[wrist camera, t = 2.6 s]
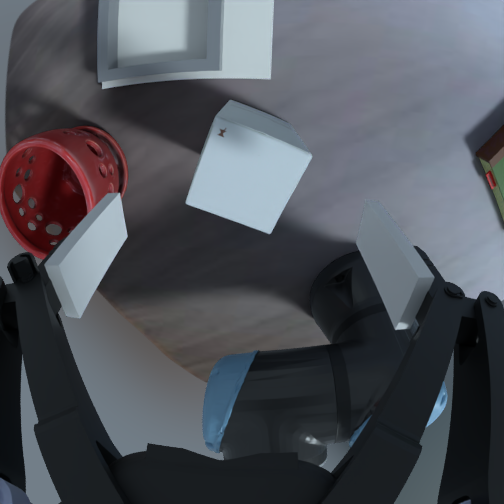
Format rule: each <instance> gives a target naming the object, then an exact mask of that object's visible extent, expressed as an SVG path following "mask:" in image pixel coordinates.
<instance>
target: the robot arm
mask: <svg viewBox="0 0 504 504" xmlns="http://www.w3.org/2000/svg"><path fill="white" fill-rule="evenodd" d="M127 237H128V236H127V230H126V225H125V220H124V214H123V209H122V203H121V196H120V193H107V194H106V196H105V197H104V198H103V199H102V200H101V201H100V202H99V203H98V204H97V205H96V206H95V207H94V208H93V209H92V210H91V211H90V212H89V213H88V214H87V215H86V217H85V218H84V219H83V220H82V221H81V222H80V223H79V224H78V225H77V226H76V228H75V229H74V230H73V231H72V232H71V233H70V234H69V235H68V236H66V237H65V238H63V239H62V240H60V241H59V242H58V243H57V244H56V245H55V246H54V248H53V250H51V251H50V252H49V255H47V256H46V257H45V258H44V260H43V261H42V262H41V263H40V264H39V266H37V263H36V261H35V258H34V256H33V254H32V253H30V252H26V253H22V254H19V255H17V256H15V257H14V258H13V259H11V260H10V262H9V263H8V266H7V268H8V271H9V273H10V275H11V277H12V280H13V282H14V283H12V284H6V285H5V283H4V281H3V279H2V278H1V277H0V504H32V503H31V502H30V501H29V498H28V497H27V495H26V483H25V482H26V480H25V479H26V478H25V466H24V457H23V447H22V434H21V407H20V392H21V364H22V354H23V360H24V365H25V370H26V374H27V379H28V383H29V388H30V392H31V396H32V399H33V403H34V407H35V410H36V414H37V417H38V421H39V422H38V424H35V425H34V432H35V435H36V438H37V442H38V445H39V448H40V451H41V453H42V456H43V459H44V461H45V464H46V467H47V469H48V472H49V474H50V477H51V479H52V481H53V484H54V486H55V488H56V490H57V493H58V495H59V497H60V499H61V501H62V502H60V503H59V504H394V502H395V500H396V499H397V497H398V495H399V494H400V492H401V490H402V488H403V487H404V485H405V483H406V481H407V479H408V477H409V476H410V473H411V472H412V470H413V468H414V466H415V464H416V462H417V460H418V458H419V455H420V453H421V450H422V446H421V445H420V444H419V442H420V439H421V437H422V435H423V432H424V430H425V428H426V427H427V426H429V425H430V424H431V423H432V422H433V421H434V420H435V419H436V418H437V417H438V416H439V415H440V414H441V412H442V411H443V409H444V408H445V405H446V402H447V391H446V387H445V384H444V378H445V375H446V372H447V369H448V366H449V363H450V359H451V356H452V352H453V349H454V377H453V399H452V411H451V422H450V431H449V439H448V447H447V453H446V459H445V464H444V470H443V475H442V480H441V485H440V490H439V495H438V503H437V504H504V308H503V305H502V303H501V301H500V299H499V298H498V297H497V296H496V295H495V294H493V293H490V292H487V291H483V292H481V293H480V294H479V296H478V298H477V300H476V299H472V298H467V297H465V294H464V292H463V290H462V289H461V288H460V287H458V286H457V285H455V284H453V283H450V282H445V280H444V279H443V277H442V276H441V274H440V273H439V272H438V270H437V269H436V267H435V266H434V264H433V263H432V262H431V261H430V259H429V257H428V256H427V255H426V253H425V252H424V251H422V250H421V249H420V248H419V247H417V246H413V245H412V244H411V243H410V241H409V240H408V238H407V237H406V236H405V234H404V233H403V232H402V230H401V229H400V228H399V226H398V225H397V224H396V222H395V221H394V220H393V219H392V217H391V216H390V215H389V213H388V212H387V211H386V210H385V208H384V207H383V206H382V205H381V203H380V202H379V201H375V200H365V205H364V210H363V214H362V219H361V224H360V228H359V232H358V237H357V241H356V245H357V247H358V249H359V251H358V252H354V253H351V254H348V255H345V256H343V257H341V258H339V259H337V260H336V261H334V262H333V263H331V264H330V265H329V266H327V267H326V268H325V269H324V270H323V271H322V272H321V273H320V274H319V276H318V277H317V279H316V280H315V282H314V284H313V286H312V289H311V292H310V305H311V310H312V314H313V317H314V320H315V322H316V323H317V325H318V326H319V327H320V329H321V330H322V332H323V333H324V334H325V336H326V337H327V339H328V340H329V341H330V343H331V344H329V345H319V346H311V347H302V348H293V349H283V350H272V351H257V350H256V351H253V352H251V353H242V354H233V355H227V356H224V357H223V358H221V359H220V360H219V361H218V362H217V363H216V364H215V366H214V367H213V369H212V371H211V374H210V377H209V380H208V383H207V387H206V392H205V398H204V406H203V437H204V440H205V441H206V442H205V444H206V446H207V448H208V449H209V450H211V451H214V452H216V453H220V452H223V456H224V460H216V459H213V458H210V457H207V456H204V455H201V454H197V453H195V452H192V451H189V450H186V449H183V448H176V447H169V446H162V445H155V444H149V443H148V445H147V451H144V452H137V453H133V454H129V455H126V456H124V457H122V455H121V454H120V453H119V451H118V450H117V449H116V447H115V446H114V444H113V443H112V441H111V439H110V438H109V436H108V434H107V432H106V430H105V428H104V426H103V424H102V422H101V420H100V418H99V416H98V414H97V412H96V409H95V407H94V406H93V403H92V401H91V399H90V396H89V394H88V392H87V390H86V387H85V385H84V382H83V380H82V377H81V375H80V373H79V370H78V367H77V365H76V362H75V360H74V357H73V354H72V351H71V349H70V346H69V343H68V340H67V337H66V334H65V331H64V328H63V325H62V321H61V318H60V316H59V314H58V312H59V310H60V308H61V307H62V308H63V310H64V312H65V315H66V316H67V317H73V318H81V316H82V314H83V312H84V310H85V308H86V307H87V305H88V303H89V301H90V299H91V297H92V295H93V294H94V292H95V290H96V288H97V287H98V285H99V283H100V281H101V280H102V278H103V276H104V275H105V273H106V271H107V269H108V268H109V266H110V264H111V263H112V261H113V259H114V258H115V256H116V254H117V253H118V251H119V250H120V248H121V246H122V245H123V243H124V242H125V240H126V238H127ZM345 441H349V446H350V450H349V451H348V453H347V454H346V455H345V456H344V458H343V459H342V460H341V461H340V463H339V464H338V465H337V466H336V468H335V469H334V470H333V471H332V472H331V473H330V472H329V471H327V470H325V469H324V468H322V467H321V466H322V465H324V464H325V462H326V460H327V445H328V444H334V443H339V442H345Z"/></svg>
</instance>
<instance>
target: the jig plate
mask: <svg viewBox="0 0 504 504" xmlns="http://www.w3.org/2000/svg"><path fill="white" fill-rule="evenodd" d="M273 7H274V0H99V9H98V32H97V71H98V83H99V82H102V89H106V88H112V87H118V86H125V85H132V84H140V83H149V82H159V81H170V80H185V79H208V78H250V79H271V57H272V33H273Z"/></svg>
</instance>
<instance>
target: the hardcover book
mask: <svg viewBox="0 0 504 504" xmlns="http://www.w3.org/2000/svg"><path fill="white" fill-rule="evenodd" d="M475 154H476V156H477V157H479V159H480V161H481V164H482V166H483V168H484V171H485V173H486V174H485V175H486V177H487V180H488V182H489V185H490V187H491V189H492V190H493V193H494V196H495V198H496V201H497V204H498V207H499V209H500V212H501V215H502V218H503V221H504V125H503V126H502V127H501V128H500V129H499V130H498V131H497V132H496V133H495V134H494V135H493V136H492V137H491V138H490V139H489V140H488V141H487V142H486V143H485V144H484V145H483V146H482V147H481V148H480V149H479V150H478V151H477V152H476V153H475Z"/></svg>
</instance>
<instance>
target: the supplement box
mask: <svg viewBox="0 0 504 504" xmlns="http://www.w3.org/2000/svg"><path fill="white" fill-rule="evenodd" d="M311 159H312V154H311V153H310V151H309V150H308V148H307V147H306V145H305V144H304V143H303V141H302V140H301V138H300V137H299V136H298V134H297V133H296V131H295V130H294V128H293V127H292V126H291V124H290V123H288V122H286V121H283V120H281V119H279V118H277V117H274V116H272V115H270V114H267V113H265V112H262V111H260V110H257V109H255V108H252V107H250V106H247V105H244V104H242V103H239V102H236V101H233V100H229V101H228V102H227V103H226V105H225V106H224V107H223V108H222V109H221V110H220V111H219V113H218V114H217V115H216V116H215V118H214V121H213V123H212V126H211V128H210V131H209V133H208V136H207V139H206V141H205V144H204V147H203V149H202V152H201V155H200V158H199V161H198V164H197V167H196V170H195V173H194V176H193V179H192V183H191V186H190V189H189V192H188V196H187V199H186V204H187V205H190V206H193V207H196V208H199V209H201V210H204V211H207V212H210V213H213V214H215V215H218V216H221V217H224V218H227V219H229V220H232V221H235V222H238V223H240V224H243V225H246V226H249V227H251V228H254V229H257V230H260V231H262V232H265V233H268V234H271V232H272V230H273V228H274V226H275V224H276V222H277V221H278V219H279V217H280V215H281V213H282V211H283V209H284V207H285V206H286V204H287V202H288V200H289V198H290V197H291V195H292V193H293V191H294V189H295V187H296V186H297V184H298V182H299V180H300V178H301V177H302V175H303V173H304V171H305V169H306V168H307V166H308V164H309V162H310V160H311Z"/></svg>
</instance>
